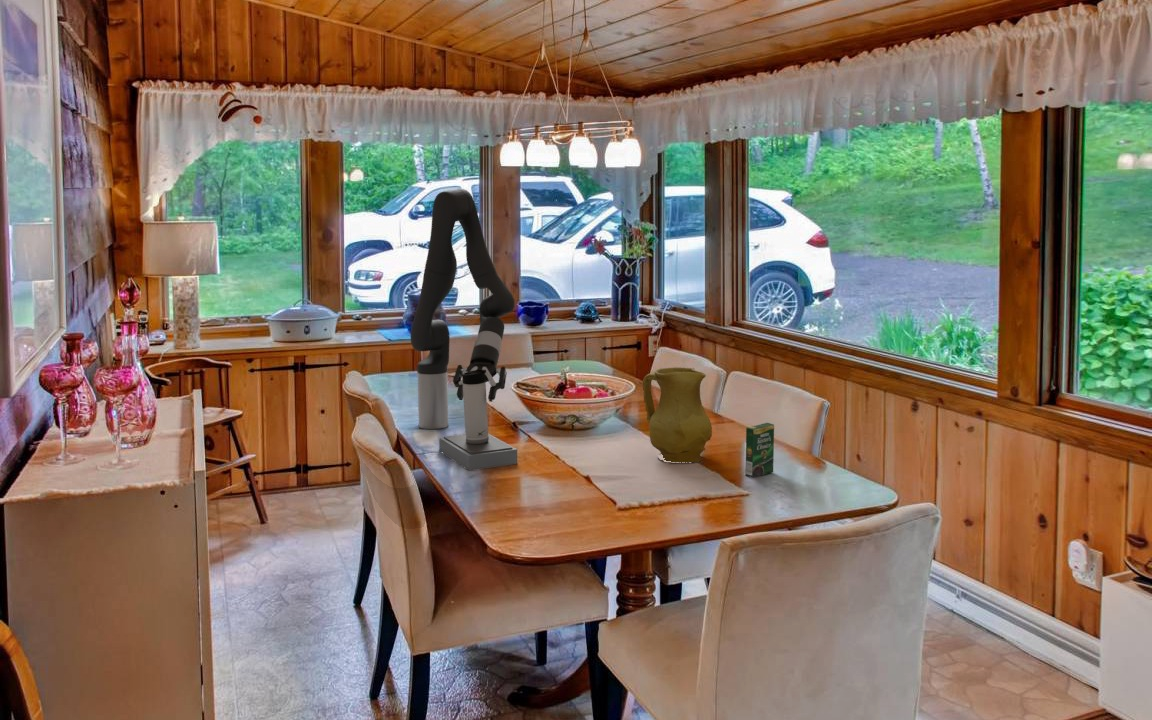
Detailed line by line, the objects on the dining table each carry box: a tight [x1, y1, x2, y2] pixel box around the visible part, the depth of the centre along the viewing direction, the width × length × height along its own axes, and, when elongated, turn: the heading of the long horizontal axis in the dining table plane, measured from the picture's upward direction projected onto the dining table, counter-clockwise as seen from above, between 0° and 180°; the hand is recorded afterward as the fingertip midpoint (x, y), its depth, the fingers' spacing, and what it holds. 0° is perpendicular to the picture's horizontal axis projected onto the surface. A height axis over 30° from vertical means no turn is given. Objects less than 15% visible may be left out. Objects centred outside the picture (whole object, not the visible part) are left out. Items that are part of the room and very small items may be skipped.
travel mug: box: [461, 370, 489, 444], centre depth 270 cm, size 6×7×20 cm
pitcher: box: [642, 366, 713, 464], centre depth 271 cm, size 17×19×25 cm
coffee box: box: [744, 422, 775, 479], centre depth 255 cm, size 8×3×13 cm, turn 126°
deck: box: [438, 433, 518, 472], centre depth 272 cm, size 22×14×4 cm, turn 28°
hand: (475, 399), depth 268 cm, fingers open, 8 cm apart
